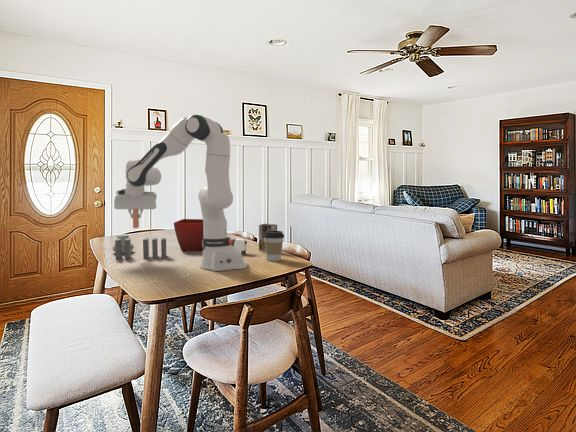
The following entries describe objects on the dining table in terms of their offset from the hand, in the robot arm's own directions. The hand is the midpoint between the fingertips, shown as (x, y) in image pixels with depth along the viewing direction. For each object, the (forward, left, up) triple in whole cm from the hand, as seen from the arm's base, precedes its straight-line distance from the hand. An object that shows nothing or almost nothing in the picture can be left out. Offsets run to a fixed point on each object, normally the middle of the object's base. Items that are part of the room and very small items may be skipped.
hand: (135, 217), depth 188 cm
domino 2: (+4, 0, -21) cm, 22 cm away
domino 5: (-9, 0, -21) cm, 23 cm away
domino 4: (-5, 0, -21) cm, 22 cm away
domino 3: (0, 0, -5) cm, 5 cm away
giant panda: (-52, -2, -22) cm, 56 cm away
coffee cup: (-70, +16, -22) cm, 75 cm away
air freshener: (+10, -15, -22) cm, 28 cm away
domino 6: (-14, 0, -21) cm, 25 cm away
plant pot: (-29, -21, -22) cm, 42 cm away
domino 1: (+9, 0, -21) cm, 23 cm away
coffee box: (-71, -5, -22) cm, 74 cm away
